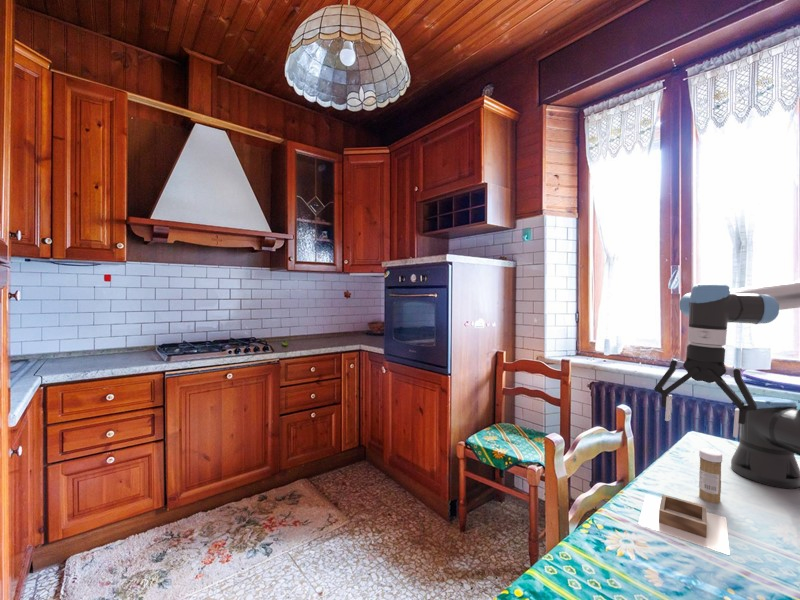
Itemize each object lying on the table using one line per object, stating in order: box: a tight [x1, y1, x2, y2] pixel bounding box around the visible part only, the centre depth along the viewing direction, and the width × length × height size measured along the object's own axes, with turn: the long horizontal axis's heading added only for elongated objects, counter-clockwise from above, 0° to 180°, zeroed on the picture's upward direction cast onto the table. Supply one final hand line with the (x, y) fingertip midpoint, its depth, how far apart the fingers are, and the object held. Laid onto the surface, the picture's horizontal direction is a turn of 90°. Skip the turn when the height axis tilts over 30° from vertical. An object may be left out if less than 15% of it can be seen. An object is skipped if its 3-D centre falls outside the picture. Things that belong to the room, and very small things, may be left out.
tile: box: [637, 494, 731, 556], centre depth 88 cm, size 16×16×1 cm
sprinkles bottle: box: [698, 447, 723, 504], centre depth 97 cm, size 5×5×14 cm
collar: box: [659, 493, 708, 538], centre depth 88 cm, size 9×9×3 cm
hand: (699, 427), depth 96 cm, fingers open, 13 cm apart
